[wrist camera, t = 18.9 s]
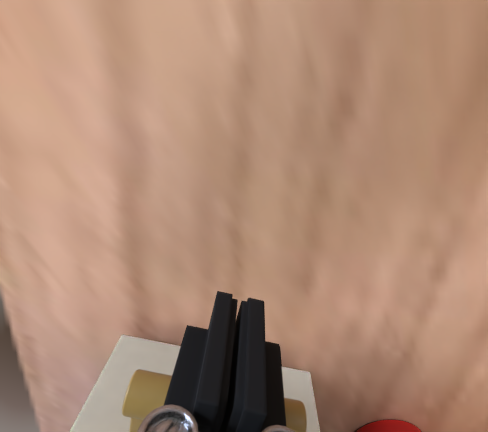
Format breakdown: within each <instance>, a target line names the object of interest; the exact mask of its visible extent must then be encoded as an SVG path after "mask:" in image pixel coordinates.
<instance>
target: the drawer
mask: <svg viewBox="0 0 488 432" xmlns="http://www.w3.org/2000/svg"><path fill="white" fill-rule="evenodd" d="M180 347H181V346H178V345H173V344H168V343H163V342H158V341H153V340H148V339H143V338H138V337H133V336H128V335H121V337H120V339H119V341H118V343H117V345H116V346H115V348H114V350H113V352H112V354H111V356H110V358H109V359H108V361H107V363H106V365H105V367H104V369H103V371H102V372H101V374H100V376H99V378H98V380H97V382H96V384H95V385H94V387H93V389H92V391H91V393H90V395H89V397H88V398H87V400H86V402H85V404H84V406H83V408H82V410H81V411H80V413H79V415H78V417H77V419H76V421H75V423H74V424H73V426H72V428H71V430H70V432H137V430H138V429H139V427H140V425H141V423H142V421H143V420H144V419H145V417H146V416H147V415H148V414H149V413H150V412H151V411H153V410H154V409H156V408H158V407H160V406H163V405H164V402H165V398H166V395H167V392H168V388H169V385H170V381H171V378H172V375H173V371H174V368H175V364H176V361H177V358H178V354H179V351H180ZM282 377H283V389H284V402H285V414H286V427H288V428H290V429H292V430H294V431H295V432H320V427H319V421H318V416H317V410H316V404H315V398H314V392H313V386H312V381H311V375H310V372H307V371H302V370H297V369H292V368H287V367H282Z"/></svg>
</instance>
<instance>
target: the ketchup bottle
mask: <svg viewBox="0 0 488 432" xmlns="http://www.w3.org/2000/svg"><path fill="white" fill-rule="evenodd" d="M356 432H421V430H420V429H419V428H417V427H416V426H415V425H413V424H411V423H408V422H405V421H400V420H381V421H376V422H372V423H369V424H367V425H365V426H363V427H361V428H360V429H358V430H357V431H356Z"/></svg>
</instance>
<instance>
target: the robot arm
mask: <svg viewBox="0 0 488 432" xmlns="http://www.w3.org/2000/svg"><path fill="white" fill-rule="evenodd" d="M237 301H238V300H236V299H232V294H228V293H224V292H219V291H217V295H216V299H215V303H214V308H213V312H212V316H211V320H210V325H209V329H203V328H198V327H193V326H188V325H187V327H186V330H185V334H184V337H183V340H182V344H181V347H180V351H179V354H178V358H177V361H176V364H175V368H174V371H173V375H172V378H171V381H170V385H169V388H168V392H167V395H166V398H165V402H164V405H163V406H160V407H158V408H156V409H154V410H153V411H151V412H150V413H149V414H148V415H147V416H146V417H145V419H144V420H143V421H142V423H141V425H140V427H139V429H138V430H137V432H295V431H294V430H292V429H290V428H288V427H286V414H285V402H284V389H283V377H282V364H281V351H280V346H279V344H275V343H271V342H266V341H265V315H264V301H261V300H257V299H252V298H248V300H247V302H246V301H242V302H241V305H240V308H239V312H238V316H237V319H236V311H237ZM235 322H236V323H235Z"/></svg>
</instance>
